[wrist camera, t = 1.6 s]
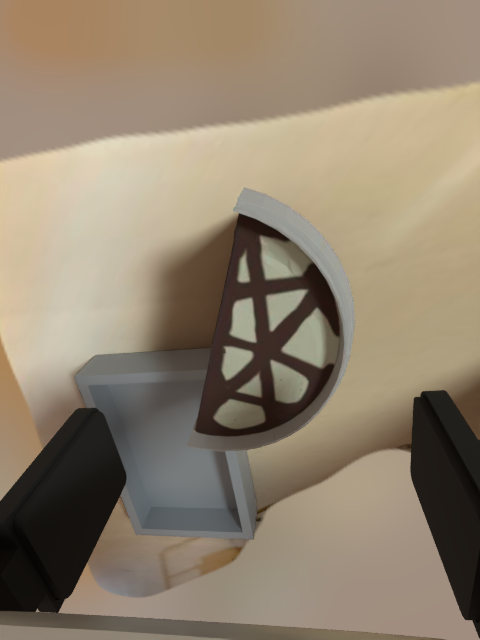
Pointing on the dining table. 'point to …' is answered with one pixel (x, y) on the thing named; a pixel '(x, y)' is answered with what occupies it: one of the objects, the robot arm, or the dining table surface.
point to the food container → (274, 331)
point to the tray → (169, 446)
